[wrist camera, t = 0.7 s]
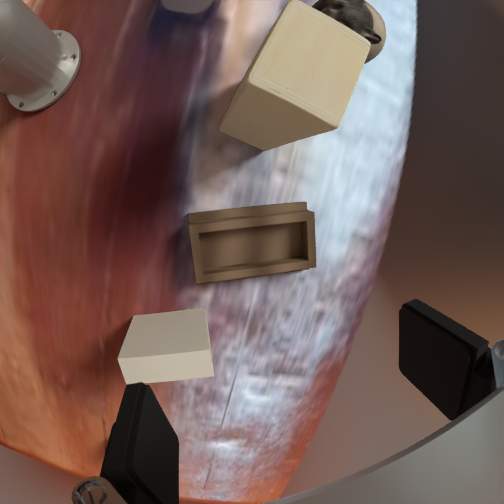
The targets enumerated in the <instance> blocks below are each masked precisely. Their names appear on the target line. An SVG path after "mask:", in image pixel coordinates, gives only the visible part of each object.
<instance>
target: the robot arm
mask: <svg viewBox="0 0 504 504" xmlns="http://www.w3.org/2000/svg"><path fill="white" fill-rule="evenodd" d="M80 60H81V50H80V46H79V43H78V42H77V40H76V39H75V38H74V37H73V36H72V35H71V34H70V33H68V32H66V31H63V30H51V29H50V28H49V27H48V26H47V25H46V24H45V23H44V22H43V21H42V20H41V19H40V18H39V17H38V16H37V15H36V14H35V13H34V12H33V11H32V10H31V9H30V8H29V7H28V6H27V5H26V4H25V3H24V2H23V1H22V0H0V92H2V93H4V94H6V95H7V98H8V100H9V102H10V103H11V105H12V106H13V107H15V108H17V109H18V110H21V111H24V112H35V111H39V110H42V109H44V108H46V107H48V106H50V105H51V104H53V103H54V102H56V101H57V100H58V99H59V98H60V97H61V96H62V95H63V94H64V93H65V92H66V91H67V89H68V88H69V87H70V85H71V84H72V82H73V80H74V79H75V76H76V74H77V72H78V69H79V66H80ZM56 93H57V94H56ZM55 94H56V95H55ZM488 344H489V341H487V340H486V339H484V338H482V337H481V336H479V335H477V334H475V333H474V332H472V331H471V330H469V329H467V328H466V327H464V326H462V325H461V324H459V323H457V322H456V321H454V320H452V319H451V318H449V317H447V316H446V315H444V314H442V313H440V312H439V311H437V310H435V309H434V308H432V307H430V306H428V305H427V304H425V303H423V302H421V301H420V300H418V299H414V300H411V301H409V302H407V303H405V304H403V305H402V309H400V311H399V369H400V371H401V373H402V374H403V375H404V376H405V377H406V378H407V379H408V380H409V381H410V382H411V383H412V384H413V385H414V386H415V387H416V388H418V389H419V390H420V391H421V392H422V393H423V394H424V395H425V396H426V397H427V398H428V399H429V400H430V401H431V402H432V403H433V404H434V405H435V406H436V407H437V408H438V409H439V410H440V411H441V412H442V413H443V414H444V415H445V416H446V417H447V418H448V419H449V420H451V421H452V422H450V423H448V424H447V425H445V426H444V427H442V428H440V429H439V430H437V431H436V432H434V433H432V434H431V435H429V436H427V437H426V438H424V439H422V440H420V441H419V442H417V443H415V444H413V445H412V446H410V447H408V448H406V449H404V450H402V451H400V452H398V453H396V454H395V455H393V456H391V457H389V458H387V459H384V460H383V461H380V462H378V463H376V464H374V465H372V466H370V467H367V468H365V469H363V470H360V471H358V472H356V473H354V474H351V475H349V476H346V477H344V478H342V479H339V480H336V481H334V482H331V483H328V484H325V485H322V486H319V487H316V488H314V489H310V490H307V491H305V492H301V493H298V494H295V495H291V496H288V497H284V498H281V499H277V500H273V501H269V502H265V503H261V504H504V340H500V341H498V342H496V343H495V344H494V345H493V346H492V348H491V349H490V348H489V347H488ZM72 502H73V504H179V441H178V437H177V435H176V433H175V431H174V430H173V428H172V426H171V425H170V423H169V421H168V419H167V417H166V416H165V414H164V412H163V410H162V408H161V406H160V404H159V403H158V401H157V399H156V397H155V395H154V393H153V391H152V389H151V387H150V386H149V385H145V384H144V383H143V382H138V383H133V384H128V385H127V386H126V388H125V391H124V395H123V398H122V402H121V405H120V408H119V412H118V416H117V419H116V422H115V423H114V424H113V426H112V430H111V434H110V437H109V441H108V445H107V449H106V453H105V456H104V460H103V465H102V469H101V473H100V476H91V477H87V478H85V479H83V480H81V481H80V482H79V483H77V484H76V486H75V487H74V489H73V492H72Z"/></svg>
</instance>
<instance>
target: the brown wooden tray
mask: <svg viewBox="0 0 504 504" xmlns="http://www.w3.org/2000/svg"><path fill="white" fill-rule="evenodd" d="M188 217H189V231H190V239H191V247H192V255H193V262H194V270H195V277H196V284H197V285H199V284H206V283H214V282H222V281H229V280H237V279H244V278H251V277H259V276H266V275H273V274H280V273H287V272H294V271H300V270H307V269H310V268H314V267H316V243H315V219H314V212H312V211H309V210H307V202H294V203H283V204H272V205H261V206H251V207H241V208H232V209H223V210H214V211H205V212H197V213H189V214H188Z"/></svg>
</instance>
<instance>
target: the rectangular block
mask: <svg viewBox="0 0 504 504" xmlns="http://www.w3.org/2000/svg"><path fill="white" fill-rule="evenodd" d="M118 362H119V365H120V367H121V370H122V373H123V376H124V379H125V382H126V384H133V383H138V382H143V383H153V382H165V381H176V380H185V379H194V378H203V377H210V376H214V371H213V363H212V355H211V348H210V339H209V331H208V325H207V318H206V312H205V308H198V309H190V310H182V311H173V312H164V313H156V314H146V315H137V316H133V319H132V321H131V324H130V327H129V329H128V332H127V334H126V337H125V340H124V342H123V345H122V348H121V350H120V353H119V356H118Z"/></svg>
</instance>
